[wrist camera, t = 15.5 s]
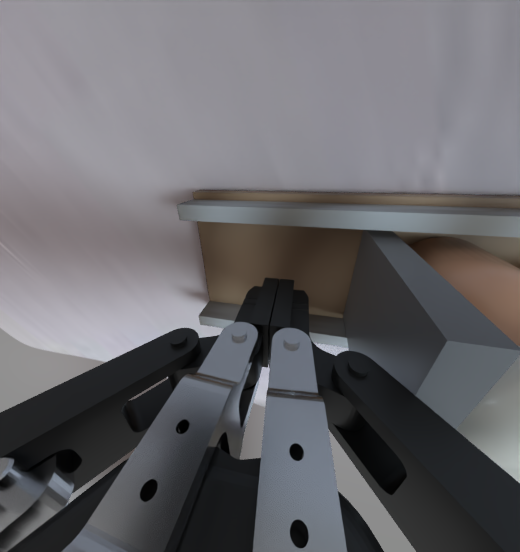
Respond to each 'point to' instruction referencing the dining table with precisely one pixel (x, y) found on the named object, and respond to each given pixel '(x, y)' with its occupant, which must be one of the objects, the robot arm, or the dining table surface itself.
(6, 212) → the dining table surface
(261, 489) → the robot arm
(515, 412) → the terracotta jar
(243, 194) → the jar lane
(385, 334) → the pusher paddle
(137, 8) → the dining table surface
